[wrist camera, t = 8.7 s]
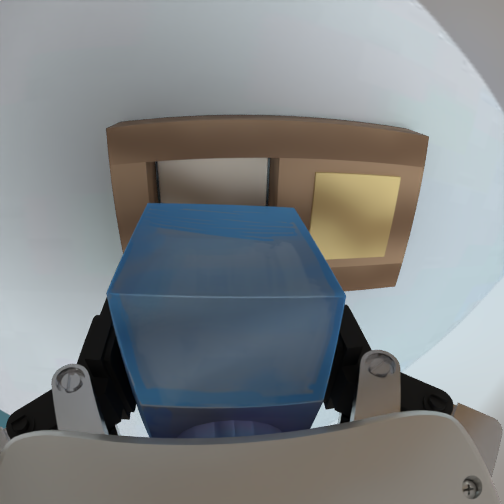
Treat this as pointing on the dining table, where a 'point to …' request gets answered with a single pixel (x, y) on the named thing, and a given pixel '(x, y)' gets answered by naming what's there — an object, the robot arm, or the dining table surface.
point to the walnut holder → (282, 179)
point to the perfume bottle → (225, 320)
